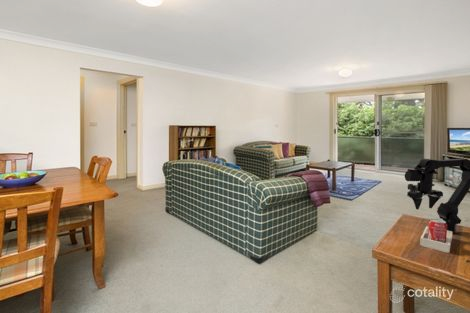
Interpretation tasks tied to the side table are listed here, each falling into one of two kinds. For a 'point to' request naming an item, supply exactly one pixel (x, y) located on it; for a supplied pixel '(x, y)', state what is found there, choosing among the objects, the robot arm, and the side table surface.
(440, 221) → the soda can
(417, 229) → the side table surface
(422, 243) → the can carrier
